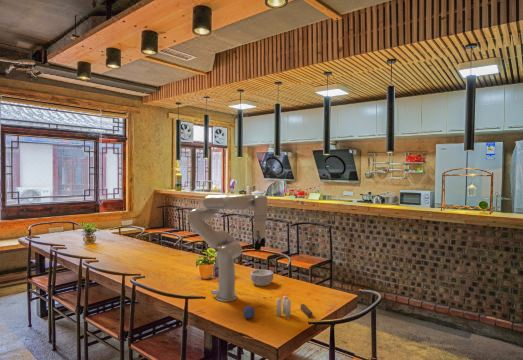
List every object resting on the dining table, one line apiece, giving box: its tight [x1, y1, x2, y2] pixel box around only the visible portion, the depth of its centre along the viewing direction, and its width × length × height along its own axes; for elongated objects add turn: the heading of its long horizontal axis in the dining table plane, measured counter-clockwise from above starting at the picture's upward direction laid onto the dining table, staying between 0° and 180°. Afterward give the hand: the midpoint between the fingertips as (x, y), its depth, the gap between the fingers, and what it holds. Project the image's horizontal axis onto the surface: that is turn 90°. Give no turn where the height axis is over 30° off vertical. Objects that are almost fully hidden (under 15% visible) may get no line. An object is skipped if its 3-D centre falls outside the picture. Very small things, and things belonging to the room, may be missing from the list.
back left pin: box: [282, 295, 289, 315], centre depth 186 cm, size 2×2×9 cm
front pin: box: [276, 297, 282, 317], centre depth 183 cm, size 2×2×9 cm
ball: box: [242, 305, 256, 320], centre depth 179 cm, size 6×6×6 cm
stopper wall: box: [300, 303, 313, 319], centre depth 186 cm, size 2×12×2 cm, turn 14°
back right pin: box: [285, 299, 292, 319], centre depth 181 cm, size 2×2×9 cm
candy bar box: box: [212, 251, 219, 278], centre depth 253 cm, size 11×5×16 cm, turn 138°
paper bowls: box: [250, 269, 274, 287], centre depth 233 cm, size 15×15×8 cm
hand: (260, 248), depth 196 cm, fingers open, 9 cm apart
